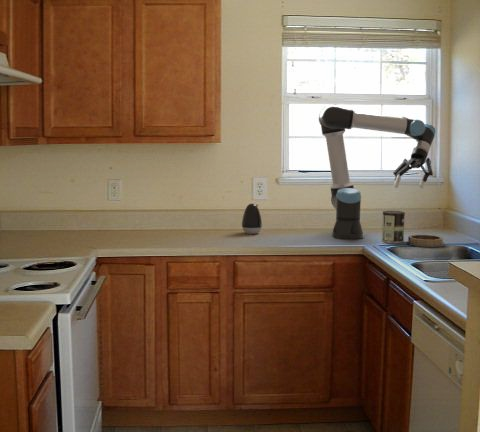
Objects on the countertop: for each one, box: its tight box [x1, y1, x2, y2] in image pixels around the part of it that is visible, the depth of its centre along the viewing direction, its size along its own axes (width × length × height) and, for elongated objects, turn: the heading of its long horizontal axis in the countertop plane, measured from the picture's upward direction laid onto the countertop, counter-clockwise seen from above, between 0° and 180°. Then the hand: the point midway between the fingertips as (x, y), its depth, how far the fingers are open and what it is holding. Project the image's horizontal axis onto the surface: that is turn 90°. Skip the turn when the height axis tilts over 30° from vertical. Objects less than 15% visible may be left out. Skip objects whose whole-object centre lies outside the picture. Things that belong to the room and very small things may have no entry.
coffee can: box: [381, 210, 406, 244], centre depth 317 cm, size 10×10×14 cm
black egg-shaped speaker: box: [241, 203, 263, 235], centre depth 337 cm, size 10×10×15 cm
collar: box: [406, 234, 445, 249], centre depth 310 cm, size 17×17×3 cm
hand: (407, 186), depth 325 cm, fingers open, 13 cm apart
